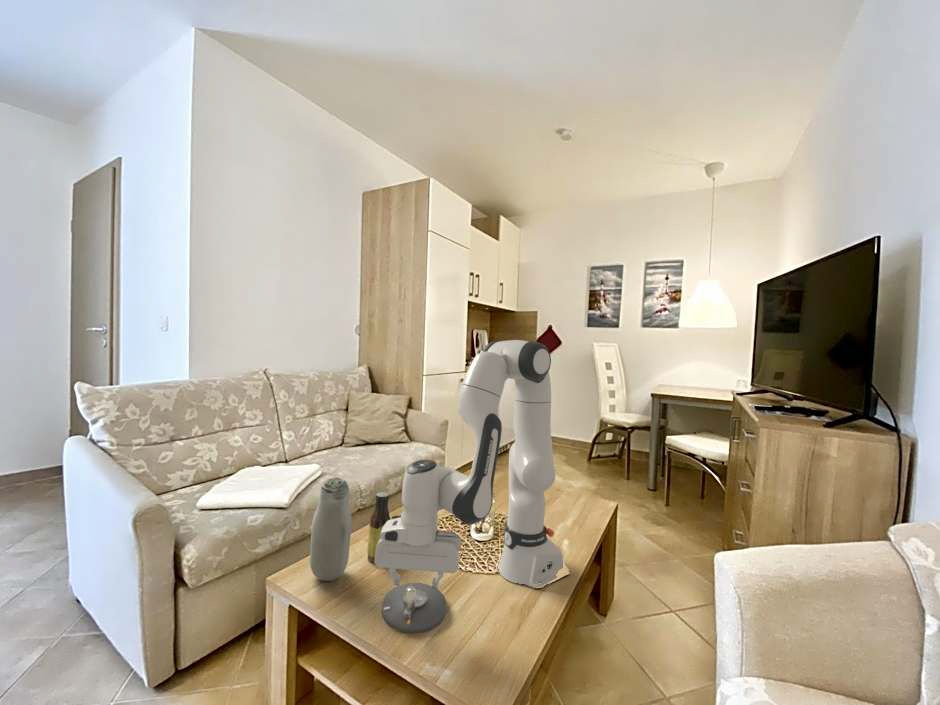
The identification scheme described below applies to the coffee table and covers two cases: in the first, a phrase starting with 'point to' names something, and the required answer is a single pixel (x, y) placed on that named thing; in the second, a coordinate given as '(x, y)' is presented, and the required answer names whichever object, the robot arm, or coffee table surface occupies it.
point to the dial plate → (421, 617)
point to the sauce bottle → (377, 523)
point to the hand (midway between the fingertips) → (416, 585)
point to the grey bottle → (331, 531)
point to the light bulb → (413, 600)
